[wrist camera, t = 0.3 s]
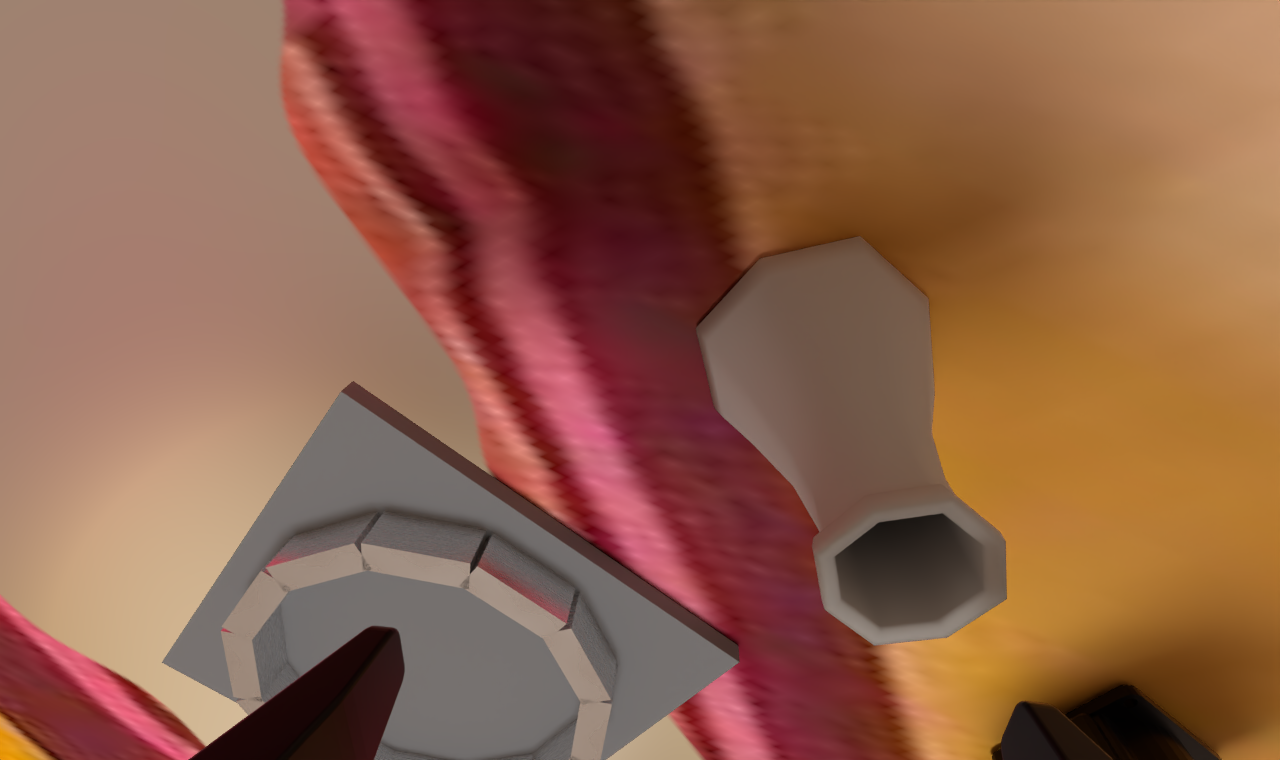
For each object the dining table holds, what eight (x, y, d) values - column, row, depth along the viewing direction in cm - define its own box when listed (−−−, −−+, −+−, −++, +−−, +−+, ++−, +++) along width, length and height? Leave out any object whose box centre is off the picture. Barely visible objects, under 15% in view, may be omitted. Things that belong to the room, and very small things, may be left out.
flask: (765, 482, 22) (813, 761, 13) (656, 315, 20) (619, 511, 10) (970, 389, 20) (1200, 644, 11) (874, 189, 17) (1063, 298, 8)
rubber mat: (738, 645, 25) (739, 662, 24) (498, 824, 32) (494, 841, 31) (353, 381, 21) (341, 391, 21) (175, 647, 28) (161, 662, 28)
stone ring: (689, 662, 25) (688, 702, 23) (486, 817, 31) (474, 858, 29) (358, 442, 22) (330, 471, 20) (202, 662, 27) (170, 698, 26)
